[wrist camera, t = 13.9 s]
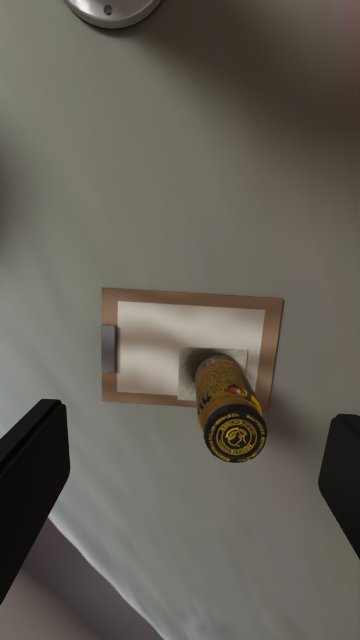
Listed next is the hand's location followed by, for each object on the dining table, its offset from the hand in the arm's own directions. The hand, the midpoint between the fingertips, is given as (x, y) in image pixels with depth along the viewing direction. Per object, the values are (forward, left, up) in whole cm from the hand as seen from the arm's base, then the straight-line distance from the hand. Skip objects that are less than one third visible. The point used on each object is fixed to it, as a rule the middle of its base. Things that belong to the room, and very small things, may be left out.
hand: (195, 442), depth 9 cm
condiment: (+7, +3, -23) cm, 24 cm away
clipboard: (+4, 0, -23) cm, 23 cm away
